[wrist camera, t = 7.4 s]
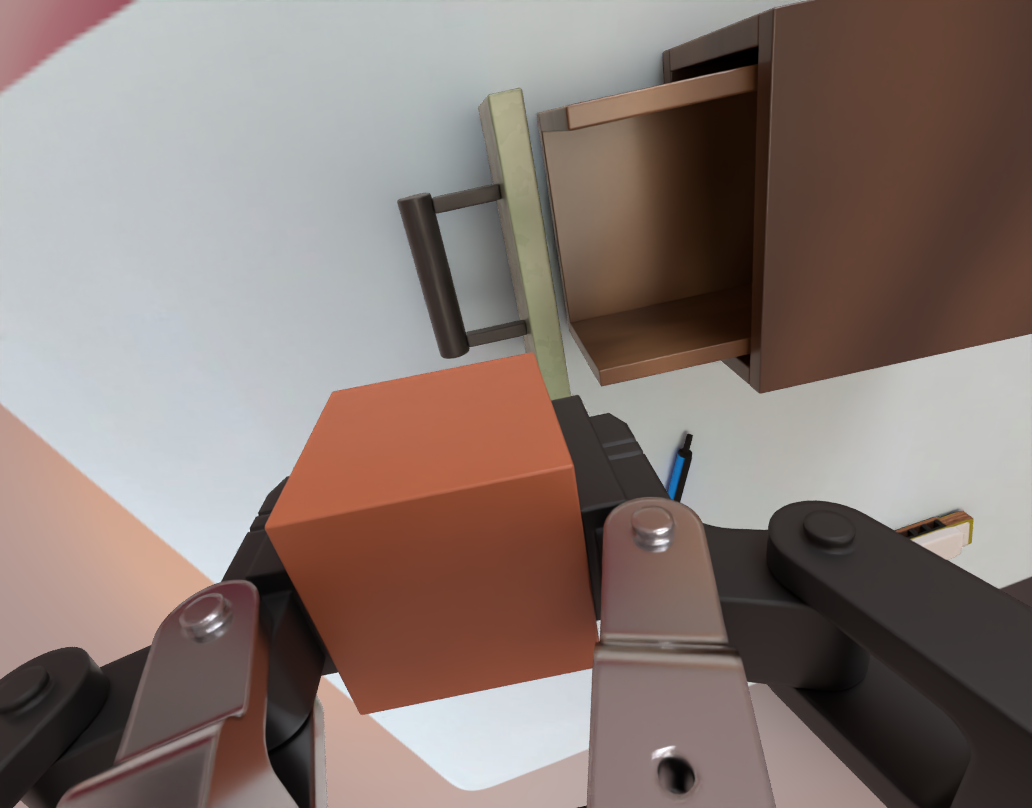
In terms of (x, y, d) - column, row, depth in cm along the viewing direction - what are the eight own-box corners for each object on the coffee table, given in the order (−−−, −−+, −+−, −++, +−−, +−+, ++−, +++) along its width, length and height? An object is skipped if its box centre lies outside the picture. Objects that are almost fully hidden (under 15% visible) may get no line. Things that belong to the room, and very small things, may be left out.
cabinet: (675, 322, 31) (759, 394, 23) (662, 51, 25) (773, 7, 16) (930, 266, 31) (1112, 316, 23) (984, -19, 25) (1268, -101, 16)
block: (331, 390, 10) (261, 527, 7) (534, 351, 10) (573, 465, 7) (389, 545, 12) (360, 716, 8) (560, 510, 12) (603, 667, 8)
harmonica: (786, 593, 44) (800, 613, 42) (781, 569, 42) (796, 588, 40) (958, 534, 43) (980, 552, 41) (960, 507, 41) (983, 524, 39)
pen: (693, 432, 35) (700, 440, 34) (641, 628, 44) (645, 640, 43) (680, 431, 35) (687, 440, 34) (630, 629, 43) (635, 640, 42)
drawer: (455, 367, 30) (455, 437, 23) (389, 125, 24) (362, 121, 17) (771, 297, 30) (866, 347, 23) (783, 39, 24) (915, 1, 17)
